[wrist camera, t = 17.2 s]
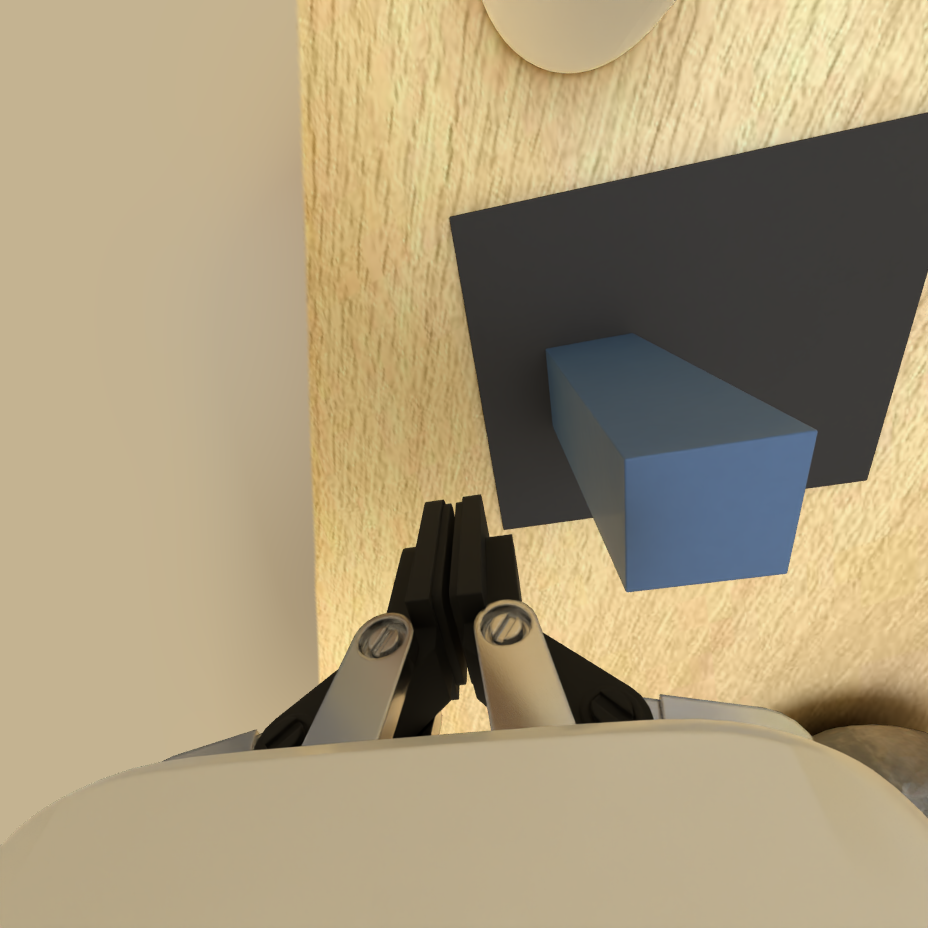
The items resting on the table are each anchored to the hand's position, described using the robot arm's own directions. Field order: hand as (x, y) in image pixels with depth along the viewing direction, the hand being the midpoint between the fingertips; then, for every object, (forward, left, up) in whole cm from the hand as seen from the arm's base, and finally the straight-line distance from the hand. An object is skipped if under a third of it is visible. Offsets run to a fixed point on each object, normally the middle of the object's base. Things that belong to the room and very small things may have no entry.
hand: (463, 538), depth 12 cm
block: (+7, 0, -12) cm, 14 cm away
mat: (+12, 0, -13) cm, 17 cm away
